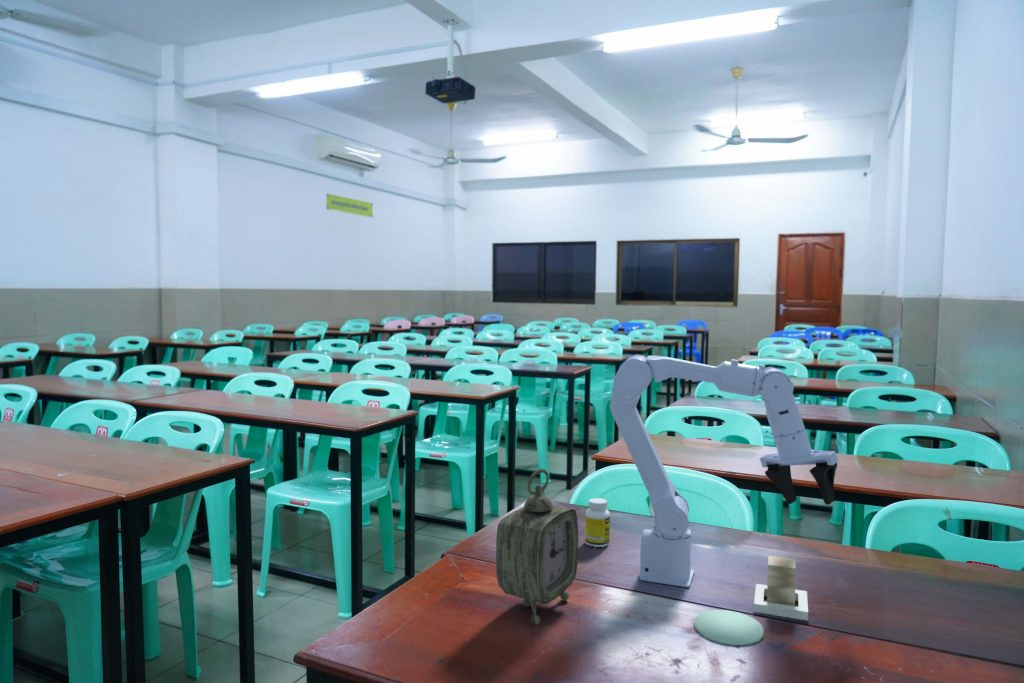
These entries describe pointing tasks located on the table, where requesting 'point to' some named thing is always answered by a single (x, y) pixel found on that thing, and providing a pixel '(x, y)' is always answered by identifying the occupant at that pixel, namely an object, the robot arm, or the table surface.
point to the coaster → (728, 627)
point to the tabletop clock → (537, 550)
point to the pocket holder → (781, 609)
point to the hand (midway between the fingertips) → (810, 502)
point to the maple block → (781, 580)
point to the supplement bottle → (597, 523)
